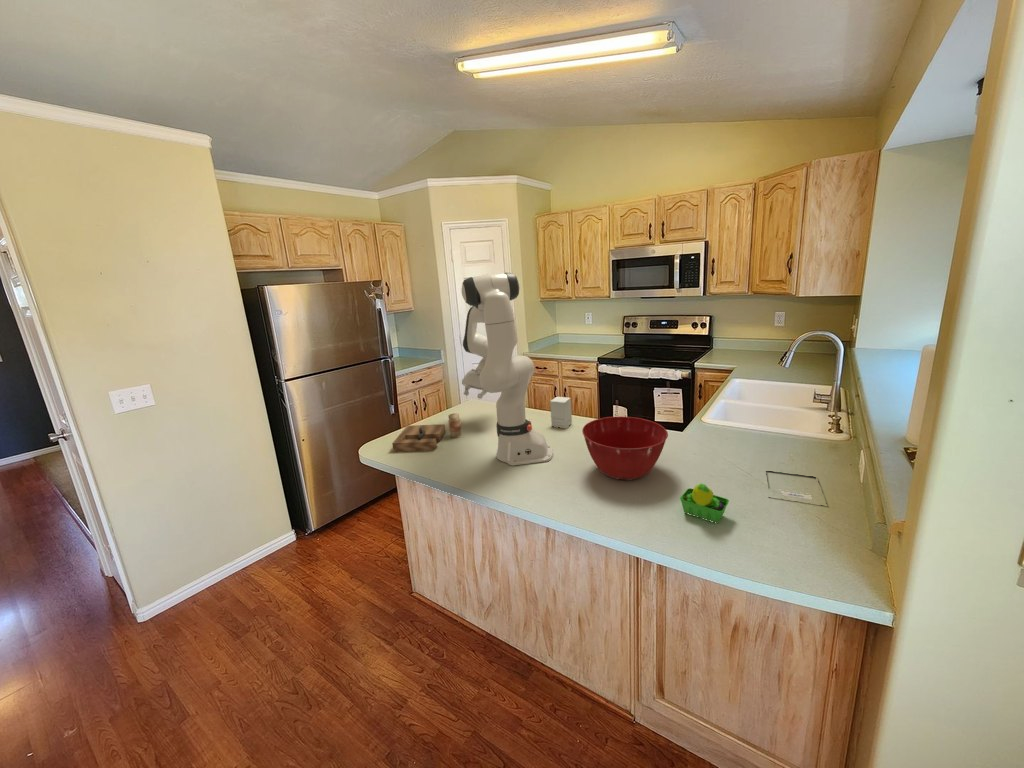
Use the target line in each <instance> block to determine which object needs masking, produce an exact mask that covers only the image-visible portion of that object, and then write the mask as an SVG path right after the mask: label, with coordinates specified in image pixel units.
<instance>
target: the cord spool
mask: <svg viewBox="0 0 1024 768" xmlns="http://www.w3.org/2000/svg"><path fill="white" fill-rule="evenodd" d="M447 420H448V426H449V427H448V428H449V432H450V438H451V437H452V439H457V438H458V437H459V438H461V437H462V436H461V435H462V425H461V424H462V423H461V418H460V413H457V412H456V413H450V414H448V419H447ZM460 436H461V437H460Z"/></svg>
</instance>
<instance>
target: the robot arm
mask: <svg viewBox="0 0 1024 768" xmlns="http://www.w3.org/2000/svg"><path fill="white" fill-rule="evenodd" d="M520 287H521V286H520V282H519V280H518V277H517V276H516V275H515V273H512V272H504V273H491V274H489V273H486V274H482V275H478V276H474V277H472V276H471V277H468V278H465V279H464V280H463V282H462V284H461V296H462V298H463V300H464V302H465V303H466V304H468V305H469V306H470V308H469V309H468V311H467V316H466V320H465V329H464V337H463V340H462V346H463V349H464V351H465V352H466V353H469V354H472V355H476V356H478V357H482V358H481V360H480V361H479V362H478V364H477V366H476V368H475V369H474V368H472V369H470V370H468V372H467V373H466V374H465V375H464V377H462V380H461V384H462V385H463V386H464V392H463V395H464V396H469V394H470V392H469V390H471V389H475V390H480V393H477V398H478V399H480V400H482V399H483V397H484V396H485V395H486V394H487V393H489V394H495V393H500V396H499V397H498V399H497V401H496V403H495V404H496V405H495V408H496V409H495V410H496V421H497V422H496V425H495V426H496V435H497V438H498V439H497V449H496V455H495V456H496V458H497V460H499V461H500V462H504V463H506V464H508V465H509V466H521V465H527V464H537V463H545V462H549V461H550V460H552V458H554V451H553V447H552V446H551V445H549V444H548V443H547V441H546V438H545V436H544V435H543V434H541V433H540V432H538V431H536V430H535V429H533V426H532V422H531V419H529V420H528V419H526V418H527V417H526V396H527V392H528V387H529V383H530V381H531V379H532V376H533V375H534V373H535V364H534V361H532V359H531V357H528V356H527V355H513V353H514V349H515V347H516V345H517V344H518V333H517V327H516V321H515V316H514V315H515V314H514V310H513V306H512V304H511V301H513V300H516V299H517V297H519V294H520ZM479 323H481V324H485V325H484V327H485V333H486V335H484V334H481V333H480V332H478V331H477V328H478V327H477V326H478V324H479Z"/></svg>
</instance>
